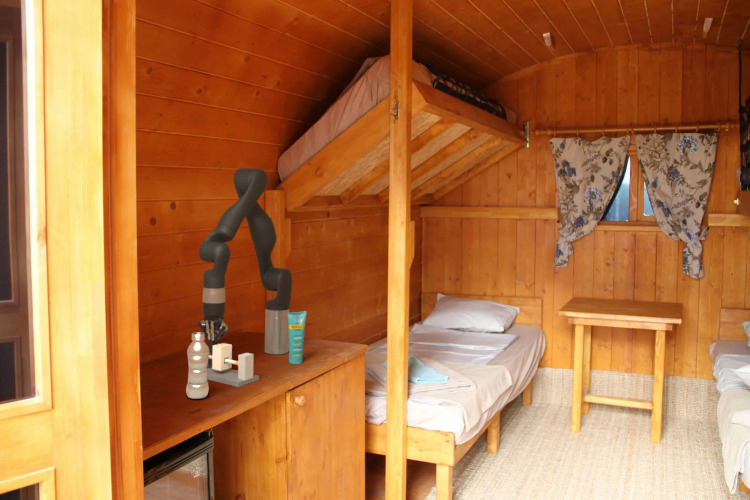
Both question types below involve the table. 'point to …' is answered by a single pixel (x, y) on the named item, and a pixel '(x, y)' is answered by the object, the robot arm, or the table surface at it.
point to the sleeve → (221, 356)
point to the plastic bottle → (197, 367)
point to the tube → (296, 336)
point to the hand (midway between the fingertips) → (213, 350)
